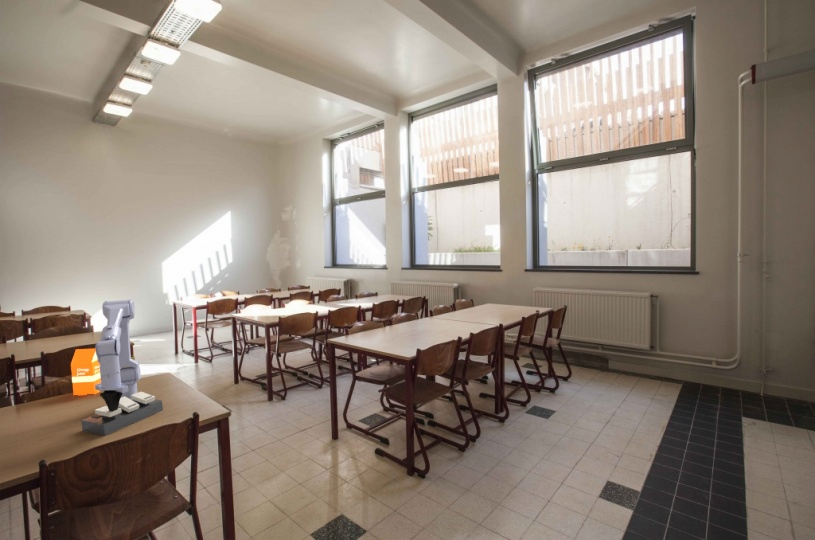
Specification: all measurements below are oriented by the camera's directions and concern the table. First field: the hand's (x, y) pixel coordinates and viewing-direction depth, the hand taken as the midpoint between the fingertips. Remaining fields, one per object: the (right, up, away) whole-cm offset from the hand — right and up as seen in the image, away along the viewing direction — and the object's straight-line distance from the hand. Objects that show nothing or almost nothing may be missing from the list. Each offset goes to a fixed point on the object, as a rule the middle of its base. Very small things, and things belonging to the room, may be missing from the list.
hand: (113, 410), depth 144 cm
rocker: (-3, -2, +1) cm, 3 cm away
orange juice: (-39, -6, +39) cm, 56 cm away
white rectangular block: (+2, -1, +13) cm, 13 cm away
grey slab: (-1, -6, +10) cm, 12 cm away
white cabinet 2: (0, -1, +7) cm, 7 cm away
